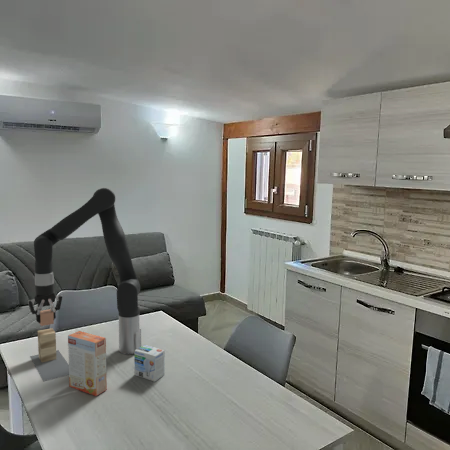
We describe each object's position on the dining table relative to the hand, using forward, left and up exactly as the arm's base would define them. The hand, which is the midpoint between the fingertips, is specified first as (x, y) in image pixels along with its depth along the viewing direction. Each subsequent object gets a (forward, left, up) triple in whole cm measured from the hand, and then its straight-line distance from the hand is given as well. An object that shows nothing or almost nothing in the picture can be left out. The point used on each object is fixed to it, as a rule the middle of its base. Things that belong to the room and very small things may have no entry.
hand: (46, 321), depth 184 cm
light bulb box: (-48, +4, -18) cm, 51 cm away
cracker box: (-29, +19, -18) cm, 39 cm away
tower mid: (0, 0, -11) cm, 11 cm away
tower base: (0, 0, -17) cm, 17 cm away
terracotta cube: (0, 0, -1) cm, 1 cm away
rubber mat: (-5, +5, -17) cm, 19 cm away
